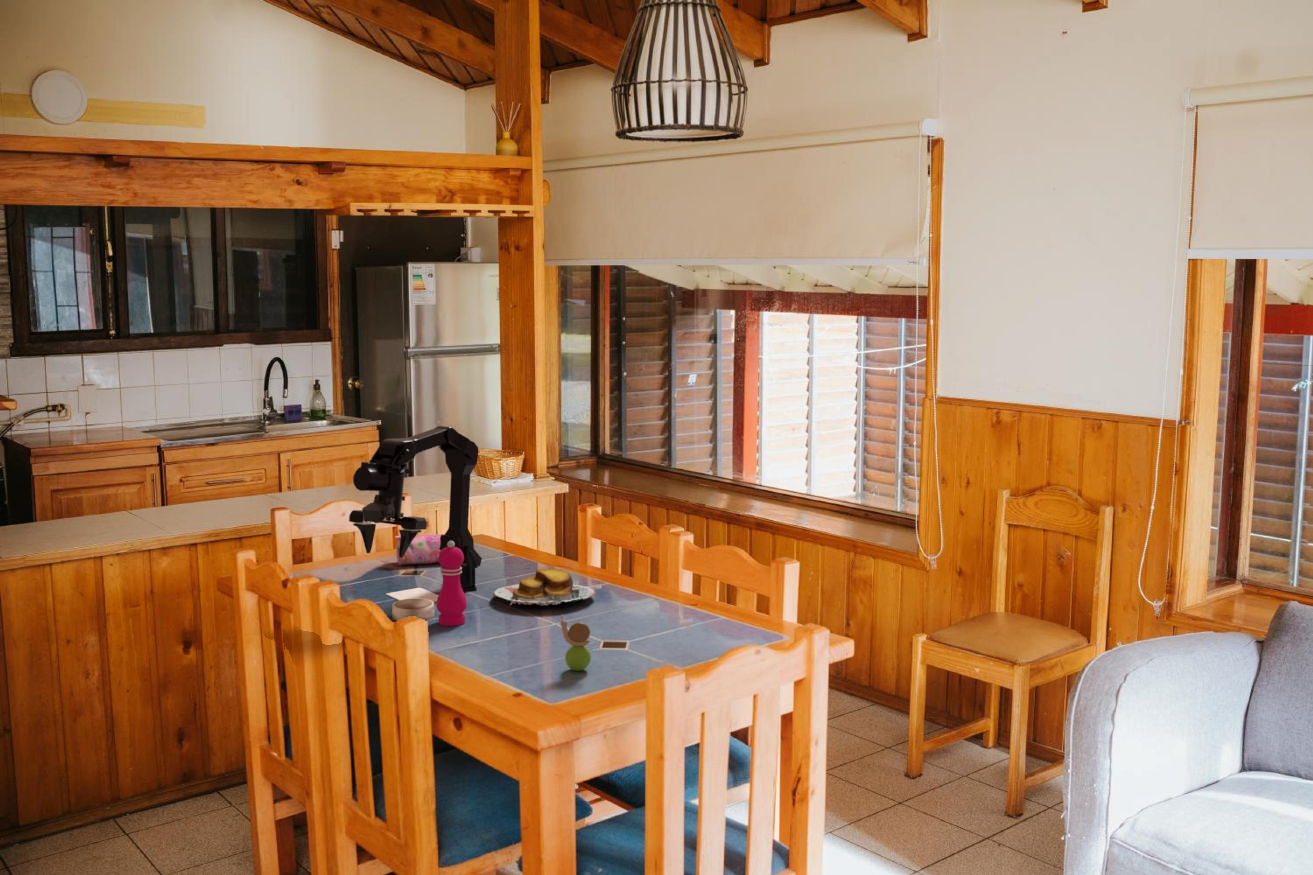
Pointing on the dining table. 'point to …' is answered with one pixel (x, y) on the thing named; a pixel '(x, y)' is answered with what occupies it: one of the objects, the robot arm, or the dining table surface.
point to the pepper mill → (451, 587)
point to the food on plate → (545, 589)
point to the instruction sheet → (414, 594)
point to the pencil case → (420, 550)
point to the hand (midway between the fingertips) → (384, 555)
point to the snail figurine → (576, 645)
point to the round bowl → (413, 608)
